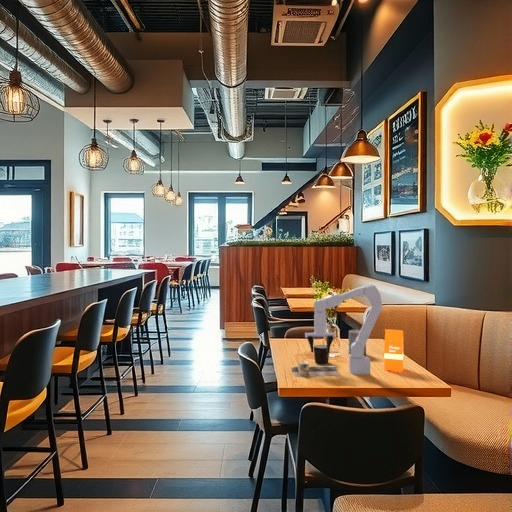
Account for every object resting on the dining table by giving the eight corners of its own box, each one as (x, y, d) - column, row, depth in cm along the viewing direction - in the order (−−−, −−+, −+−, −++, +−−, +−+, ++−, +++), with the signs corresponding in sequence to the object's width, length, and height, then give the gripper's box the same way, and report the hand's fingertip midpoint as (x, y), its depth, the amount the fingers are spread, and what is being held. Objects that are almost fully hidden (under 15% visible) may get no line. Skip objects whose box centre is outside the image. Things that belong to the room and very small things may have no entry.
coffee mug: (320, 362, 244) (320, 343, 244) (333, 365, 238) (333, 346, 238) (306, 366, 236) (306, 347, 236) (319, 369, 230) (319, 349, 229)
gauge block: (306, 371, 220) (306, 360, 220) (309, 375, 212) (309, 364, 212) (298, 371, 220) (298, 360, 220) (301, 375, 212) (301, 365, 212)
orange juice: (402, 371, 225) (402, 331, 225) (384, 370, 228) (384, 330, 228) (403, 368, 233) (403, 329, 232) (385, 366, 236) (385, 328, 235)
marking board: (335, 372, 224) (335, 365, 224) (341, 379, 212) (341, 372, 212) (291, 373, 222) (291, 366, 222) (295, 380, 210) (295, 372, 210)
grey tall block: (360, 352, 269) (359, 326, 269) (369, 355, 260) (369, 329, 259) (345, 353, 266) (345, 328, 266) (354, 357, 256) (354, 330, 256)
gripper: (332, 322, 227) (332, 349, 227) (303, 323, 226) (303, 350, 226) (336, 325, 220) (336, 353, 220) (306, 325, 219) (306, 353, 219)
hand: (320, 351), depth 222 cm, fingers open, 7 cm apart
